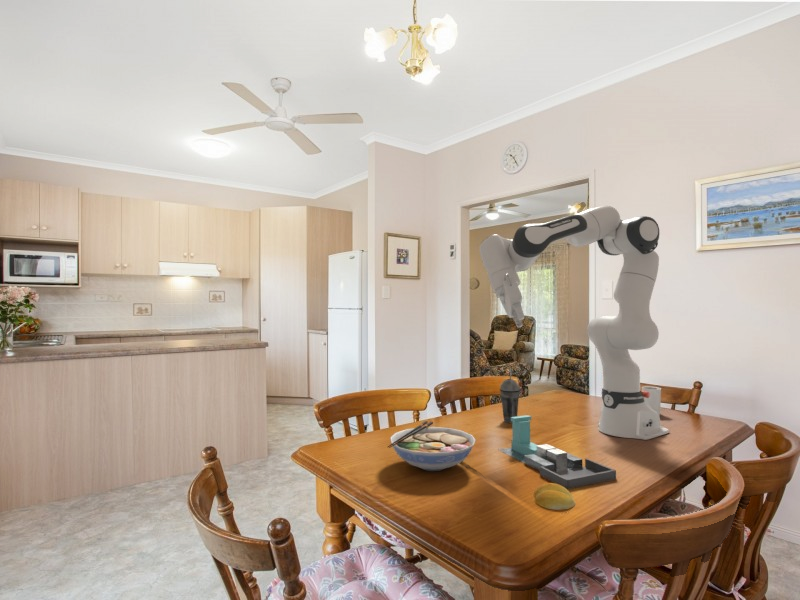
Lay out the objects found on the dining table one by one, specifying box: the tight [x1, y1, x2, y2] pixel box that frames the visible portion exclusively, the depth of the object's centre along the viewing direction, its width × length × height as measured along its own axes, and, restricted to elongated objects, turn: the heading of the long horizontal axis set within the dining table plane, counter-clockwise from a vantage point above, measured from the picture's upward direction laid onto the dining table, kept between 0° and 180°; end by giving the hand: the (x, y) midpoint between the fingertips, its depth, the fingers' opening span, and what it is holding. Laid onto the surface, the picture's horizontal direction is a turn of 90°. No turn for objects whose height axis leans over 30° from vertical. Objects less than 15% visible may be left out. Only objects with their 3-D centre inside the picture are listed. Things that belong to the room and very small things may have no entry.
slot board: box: [497, 447, 584, 472], centre depth 118 cm, size 12×20×3 cm, turn 22°
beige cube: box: [537, 443, 557, 460], centre depth 115 cm, size 4×4×4 cm
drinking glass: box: [641, 385, 662, 416], centre depth 169 cm, size 7×7×10 cm
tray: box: [539, 458, 617, 490], centre depth 104 cm, size 15×9×3 cm, turn 112°
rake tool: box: [511, 414, 538, 456], centre depth 122 cm, size 6×10×10 cm, turn 22°
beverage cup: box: [499, 366, 521, 424], centre depth 159 cm, size 7×7×20 cm
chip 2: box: [547, 447, 568, 470], centre depth 111 cm, size 4×4×4 cm
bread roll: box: [533, 482, 576, 515], centre depth 92 cm, size 8×9×4 cm
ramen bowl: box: [387, 420, 476, 472], centre depth 115 cm, size 25×23×8 cm
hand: (521, 322), depth 131 cm, fingers open, 8 cm apart
